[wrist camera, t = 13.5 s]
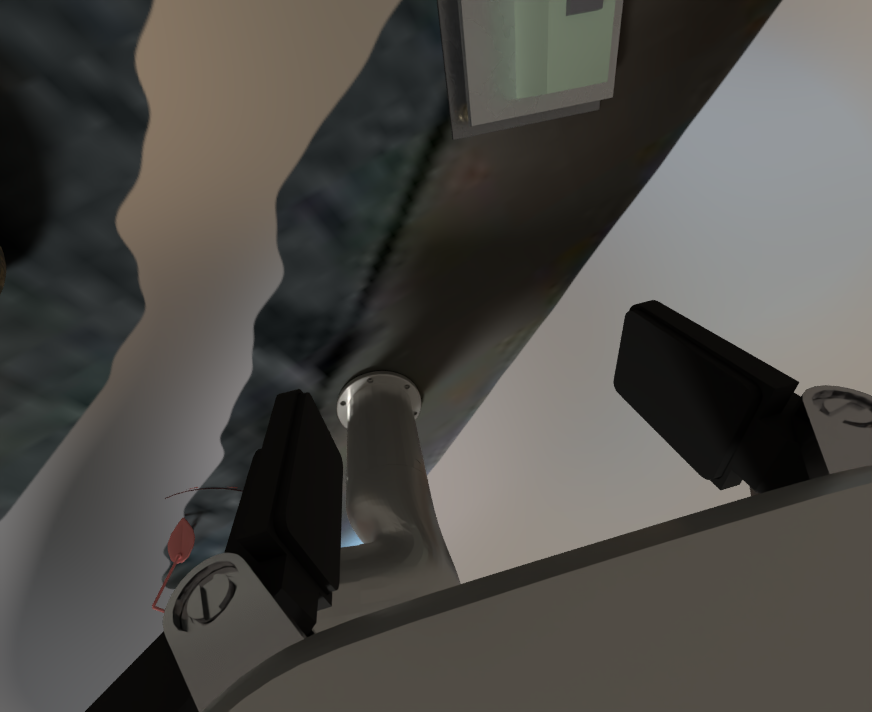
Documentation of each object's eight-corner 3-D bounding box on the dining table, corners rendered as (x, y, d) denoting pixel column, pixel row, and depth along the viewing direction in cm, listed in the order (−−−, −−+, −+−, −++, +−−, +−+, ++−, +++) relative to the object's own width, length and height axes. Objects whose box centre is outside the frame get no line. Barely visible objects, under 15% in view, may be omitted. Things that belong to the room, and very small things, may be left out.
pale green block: (568, 88, 32) (612, 80, 26) (516, 99, 31) (550, 93, 26) (575, -57, 27) (631, -104, 21) (513, -47, 26) (555, -92, 21)
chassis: (597, 109, 37) (620, 108, 34) (452, 139, 36) (462, 140, 32) (615, -94, 29) (648, -122, 26) (429, -64, 28) (439, -90, 24)
